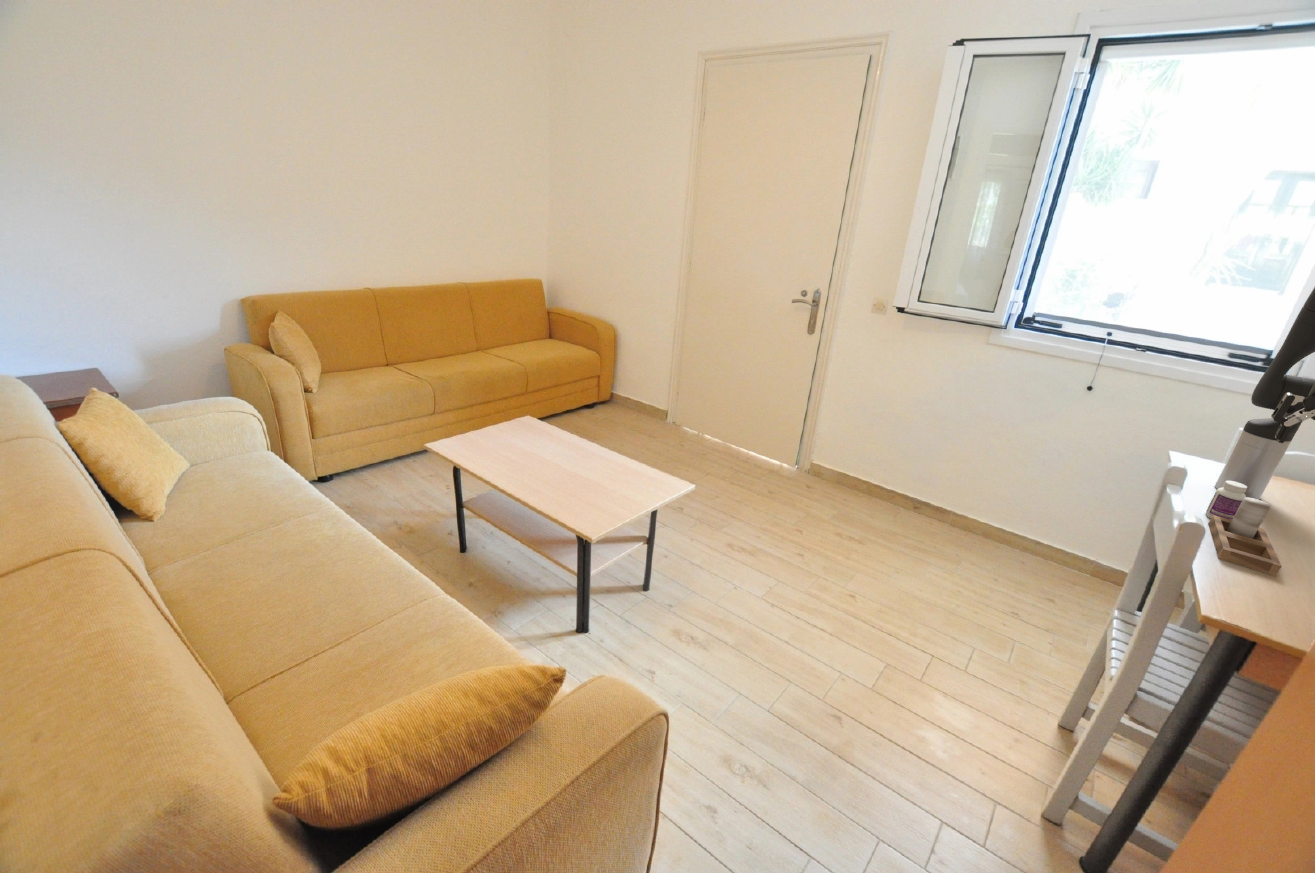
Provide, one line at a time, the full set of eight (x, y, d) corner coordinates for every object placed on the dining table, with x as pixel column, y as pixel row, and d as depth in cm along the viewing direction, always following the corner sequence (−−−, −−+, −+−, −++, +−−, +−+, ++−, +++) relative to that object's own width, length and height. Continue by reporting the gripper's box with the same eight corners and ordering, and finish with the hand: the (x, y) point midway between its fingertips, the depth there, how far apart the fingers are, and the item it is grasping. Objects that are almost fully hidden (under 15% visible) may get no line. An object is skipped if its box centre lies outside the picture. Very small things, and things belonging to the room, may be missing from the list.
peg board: (1208, 523, 137) (1226, 487, 133) (1258, 537, 132) (1279, 500, 128) (1218, 558, 122) (1239, 518, 118) (1275, 576, 117) (1300, 535, 113)
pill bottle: (1239, 525, 137) (1257, 490, 133) (1214, 522, 138) (1232, 487, 134) (1223, 514, 142) (1241, 480, 138) (1199, 511, 143) (1216, 477, 139)
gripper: (1397, 377, 111) (1351, 452, 117) (1295, 362, 118) (1258, 433, 125) (1411, 386, 105) (1363, 464, 112) (1303, 369, 113) (1264, 443, 119)
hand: (1307, 447), depth 118 cm, fingers open, 8 cm apart
